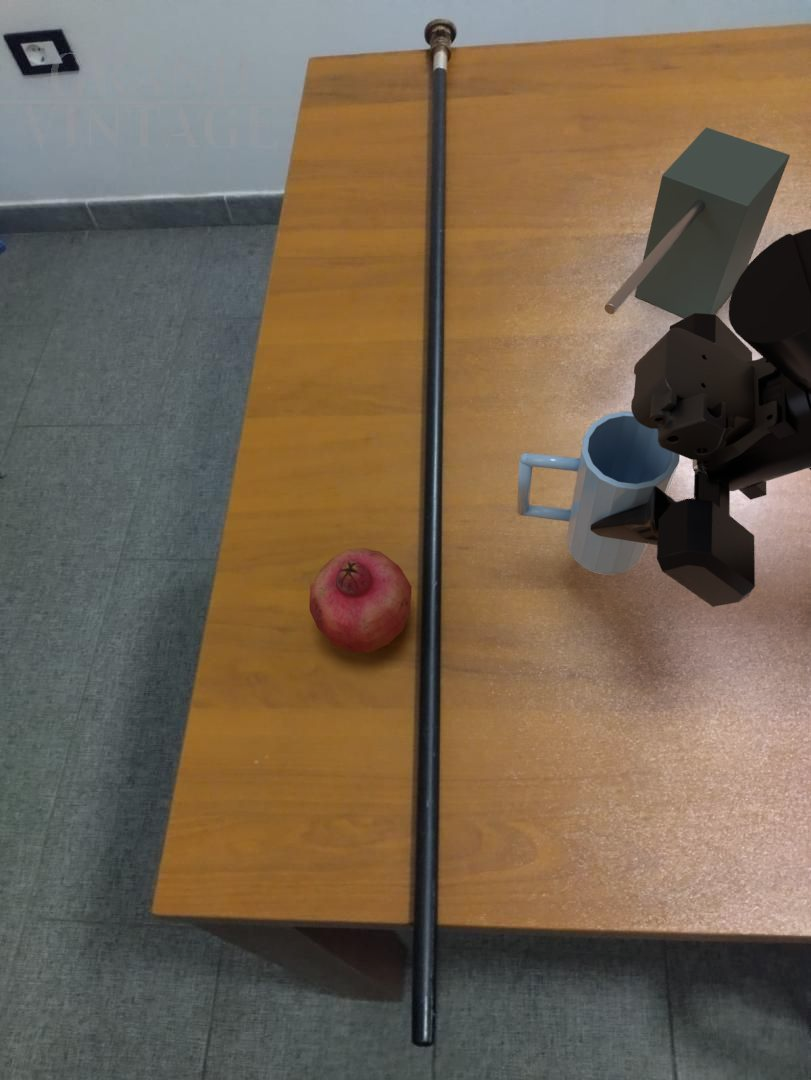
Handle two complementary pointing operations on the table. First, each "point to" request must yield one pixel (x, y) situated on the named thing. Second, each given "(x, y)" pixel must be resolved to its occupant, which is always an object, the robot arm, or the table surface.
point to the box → (705, 224)
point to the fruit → (360, 600)
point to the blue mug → (604, 487)
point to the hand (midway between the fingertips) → (598, 491)
